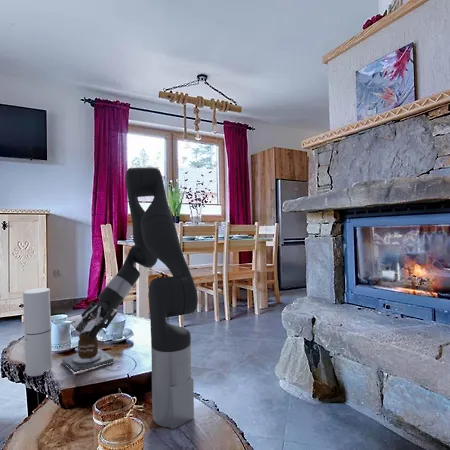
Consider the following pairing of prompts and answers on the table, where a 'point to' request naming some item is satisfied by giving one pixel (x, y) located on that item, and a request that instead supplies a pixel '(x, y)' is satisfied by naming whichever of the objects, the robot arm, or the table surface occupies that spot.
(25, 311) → the cylindrical container
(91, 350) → the utensil holder
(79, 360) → the flange
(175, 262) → the robot arm
